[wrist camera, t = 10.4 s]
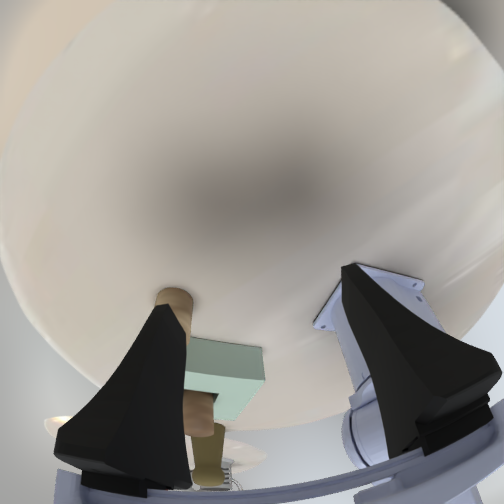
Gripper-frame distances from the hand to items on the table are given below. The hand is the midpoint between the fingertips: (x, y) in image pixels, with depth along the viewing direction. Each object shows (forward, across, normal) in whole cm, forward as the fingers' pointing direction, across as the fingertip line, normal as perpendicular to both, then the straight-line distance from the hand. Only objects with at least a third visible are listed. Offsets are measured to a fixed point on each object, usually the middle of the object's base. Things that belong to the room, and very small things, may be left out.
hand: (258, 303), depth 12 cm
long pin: (+9, +10, +18) cm, 23 cm away
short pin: (+10, +8, +8) cm, 15 cm away
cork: (+10, +15, +38) cm, 42 cm away
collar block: (+9, +10, +18) cm, 23 cm away
